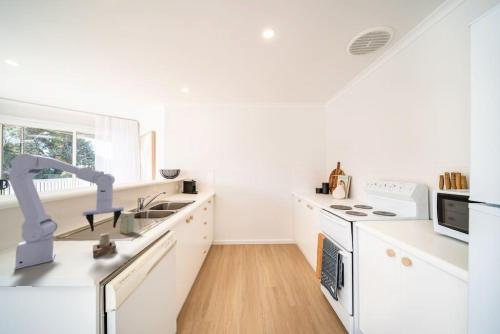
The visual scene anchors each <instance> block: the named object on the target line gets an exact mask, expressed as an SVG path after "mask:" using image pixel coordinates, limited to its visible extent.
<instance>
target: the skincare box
mask: <svg viewBox="0 0 500 334" xmlns="http://www.w3.org/2000/svg"><path fill="white" fill-rule="evenodd" d="M119 220H120V222H119V223H120V224H119V225H120V226H119V233H120V234H125V235H128V234H130V233H134V230H135V229H134V228H135V225H134V224H135V211H127V210H126V211H122V212H121V215H120V219H119Z"/></svg>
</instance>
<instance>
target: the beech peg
mask: <svg viewBox="0 0 500 334" xmlns="http://www.w3.org/2000/svg"><path fill="white" fill-rule="evenodd" d="M110 237H111V232H110V233H109V232H107V233H106V232H105V233H100V234H99V241H98V242H99V243H98V244H99V248H104V247H108V246H109V244H110V240H111V239H110Z"/></svg>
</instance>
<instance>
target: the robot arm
mask: <svg viewBox="0 0 500 334" xmlns="http://www.w3.org/2000/svg"><path fill="white" fill-rule="evenodd" d="M9 162H10V166H11V168H10V171H9V173H8V174H9V175H8V180H9V182H10V185H11V188H12V190H13V192H14V195H15V198H16V200H17V202H18V206H19V207H20V211H21V212H22V214H23V217H24V221H23V223H22V224H21V225H20V226H21V229H22V231H21V238H22V240H24V241H22V242H18V243H17V246H16V249H15V265H14V270H18V269H21V268H27V267H31V266H35V265H40V264H45V263H48V262H53V261H54V258H55V256H56V252H54V236H55V235H54V233H55V232H56V231H57V229H58V228H59V227H58V226H59V225H58V223H57V222H56V221H55V220H54V219H53V218H52V216H51V215H49V214H47V213H46V211H45V207H44V206H43V204H42V203H43V202H42V201H41V198H40V196H39V193H38V190H37V188H36V185H35V183H34V180H33V178H35V177H36V176H37V175H38V174H40V173H41V172H43V171H45V170H47V169H56V170H60V171H63V172H66V173H71V174H73V175H75V177H76V178H77V179H79V180H82V181H85V182H89V183H91V184H95V186H97V190H96V204H95V205H96V207H95V209H89V210H83V211H82V217H85V219H86V220H87V222H88V224H89V225H90V229H91V232H94V230H95V227H94V220H95V219H94V215H101V214H102V215H103V214H110V213H113V222H112V223H113V224H112V228H113V229H114V228H116V227H117V223H118V220H119V218H120V217H121V213H122V212H125V207H124V206H116V207H115V206H113V199H114V197H113V196H114V190H113V189H114V188H113V187H114V183H115V182H116V181H115V180H116V178H115V177H114V176H113V175H112V174H111V173H105V171H102V170H101V171H99V170H96V169H94V168H93V167H92V166H82V167H79V166H76V165H73V164H71V163H68V162H65V161H62V160H60V159H57V158H53V157H49V156H45V155H41V154H40V155H36V154H30V153H20V154H18V155H16V156H15V157H13V158H12V160H10V161H9Z"/></svg>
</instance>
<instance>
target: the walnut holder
mask: <svg viewBox="0 0 500 334" xmlns="http://www.w3.org/2000/svg"><path fill="white" fill-rule="evenodd" d="M116 252H117V244H116V242H115V240H112V241H110V244H109V246H108V247H104V248H99V243H97V244H93V245H92V254H93V255H92V256H93V258H98V257H102V256H106V255H109V254H113V253H116Z"/></svg>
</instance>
